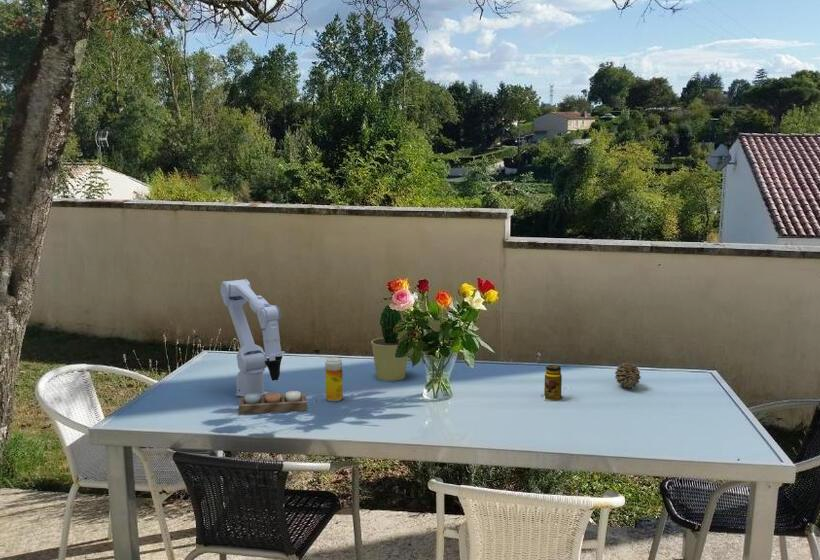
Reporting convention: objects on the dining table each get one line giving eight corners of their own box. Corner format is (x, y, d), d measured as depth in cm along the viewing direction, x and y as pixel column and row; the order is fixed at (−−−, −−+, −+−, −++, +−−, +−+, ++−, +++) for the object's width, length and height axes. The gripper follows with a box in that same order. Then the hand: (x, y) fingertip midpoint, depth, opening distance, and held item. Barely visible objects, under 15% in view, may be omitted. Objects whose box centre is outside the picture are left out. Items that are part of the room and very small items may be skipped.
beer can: (340, 402, 272) (339, 361, 270) (323, 401, 274) (323, 360, 271) (344, 397, 278) (344, 357, 276) (328, 396, 279) (328, 356, 277)
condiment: (545, 401, 273) (546, 369, 271) (540, 394, 281) (541, 362, 280) (565, 401, 273) (566, 368, 272) (559, 394, 282) (560, 362, 280)
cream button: (285, 403, 264) (285, 395, 263) (285, 399, 269) (285, 391, 268) (301, 402, 265) (300, 394, 264) (300, 398, 270) (300, 390, 269)
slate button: (244, 405, 261) (244, 398, 261) (245, 401, 266) (245, 393, 266) (260, 404, 262) (259, 397, 262) (260, 400, 267) (260, 392, 267)
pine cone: (644, 393, 282) (645, 367, 280) (617, 392, 283) (618, 367, 281) (632, 377, 304) (633, 353, 302) (608, 376, 305) (608, 352, 303)
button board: (239, 414, 259) (238, 406, 259) (240, 405, 269) (239, 397, 268) (307, 410, 263) (306, 402, 263) (305, 402, 273) (305, 394, 272)
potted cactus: (363, 377, 304) (362, 304, 300) (389, 370, 316) (388, 299, 311) (392, 384, 294) (391, 308, 290) (417, 376, 306) (417, 303, 301)
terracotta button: (265, 404, 263) (265, 396, 262) (265, 400, 268) (265, 392, 267) (280, 403, 263) (280, 396, 263) (280, 399, 268) (280, 391, 268)
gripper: (282, 341, 261) (286, 380, 261) (284, 337, 275) (288, 374, 275) (261, 343, 260) (265, 382, 260) (264, 339, 274) (268, 376, 275)
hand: (275, 378), depth 268 cm, fingers open, 7 cm apart
